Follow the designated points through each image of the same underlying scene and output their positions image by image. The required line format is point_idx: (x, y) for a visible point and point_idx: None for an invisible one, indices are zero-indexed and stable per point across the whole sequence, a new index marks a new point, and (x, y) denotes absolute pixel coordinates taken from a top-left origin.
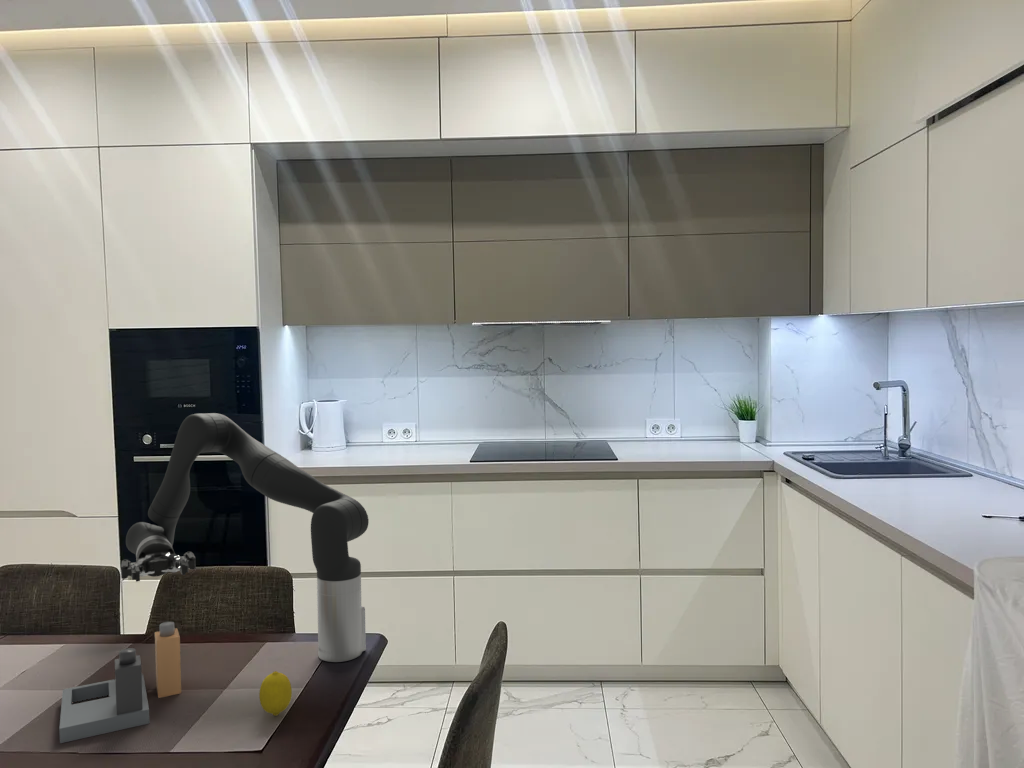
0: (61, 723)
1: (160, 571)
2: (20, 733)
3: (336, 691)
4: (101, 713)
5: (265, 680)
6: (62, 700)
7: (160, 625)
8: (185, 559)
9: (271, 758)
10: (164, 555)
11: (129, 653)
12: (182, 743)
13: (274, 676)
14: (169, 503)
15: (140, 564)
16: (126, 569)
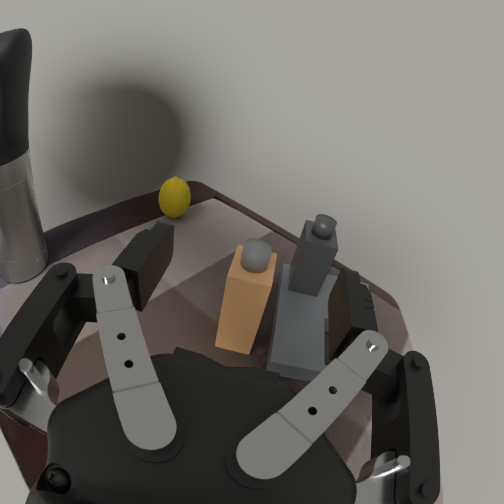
0: None
1: None
2: (401, 337)
3: (105, 214)
4: (331, 286)
5: (185, 184)
6: None
7: (270, 249)
8: (107, 266)
9: (214, 190)
10: (163, 393)
11: (323, 215)
12: (260, 233)
13: (179, 178)
14: None
15: (343, 352)
16: (398, 354)
